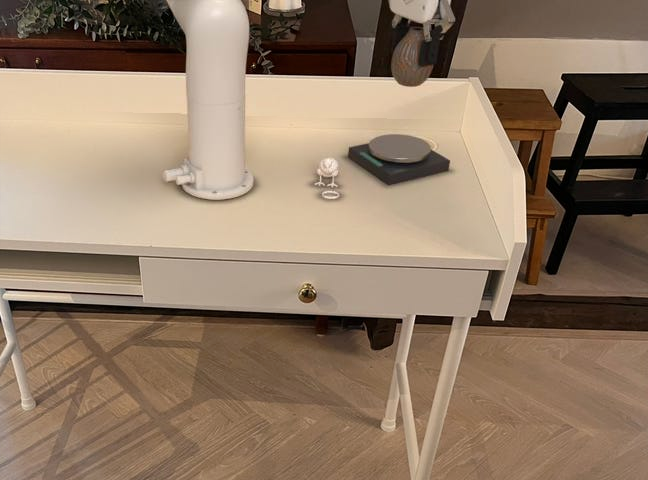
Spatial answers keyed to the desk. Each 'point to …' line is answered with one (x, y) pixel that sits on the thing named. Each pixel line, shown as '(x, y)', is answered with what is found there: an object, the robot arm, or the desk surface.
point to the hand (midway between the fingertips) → (413, 57)
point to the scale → (397, 165)
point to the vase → (410, 60)
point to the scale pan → (399, 148)
